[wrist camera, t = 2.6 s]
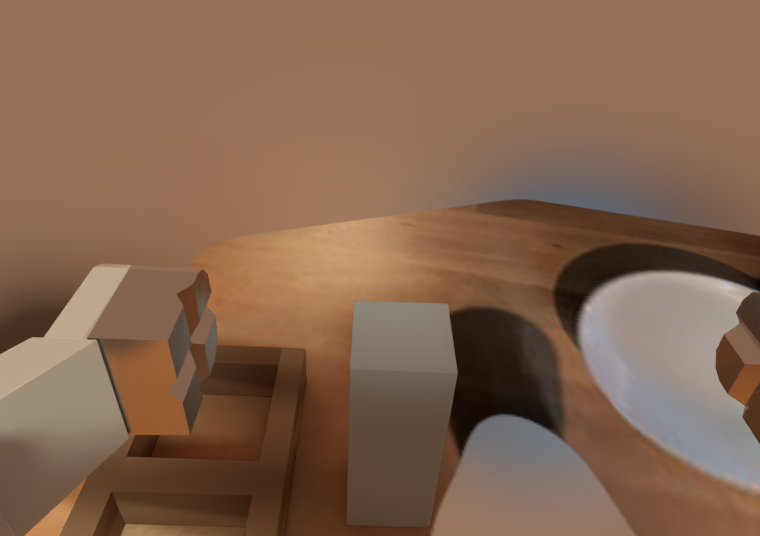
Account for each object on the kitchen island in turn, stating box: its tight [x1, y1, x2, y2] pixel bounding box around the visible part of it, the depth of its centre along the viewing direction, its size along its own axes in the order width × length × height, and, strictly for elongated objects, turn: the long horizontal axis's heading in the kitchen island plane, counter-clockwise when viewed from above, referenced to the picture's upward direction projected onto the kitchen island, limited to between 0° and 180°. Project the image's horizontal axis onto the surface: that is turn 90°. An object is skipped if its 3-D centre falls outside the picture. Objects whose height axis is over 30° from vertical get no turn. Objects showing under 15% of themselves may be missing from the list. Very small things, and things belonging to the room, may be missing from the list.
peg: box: [347, 300, 458, 528], centre depth 29 cm, size 4×4×12 cm
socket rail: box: [60, 346, 307, 536], centre depth 30 cm, size 19×10×3 cm, turn 0°
